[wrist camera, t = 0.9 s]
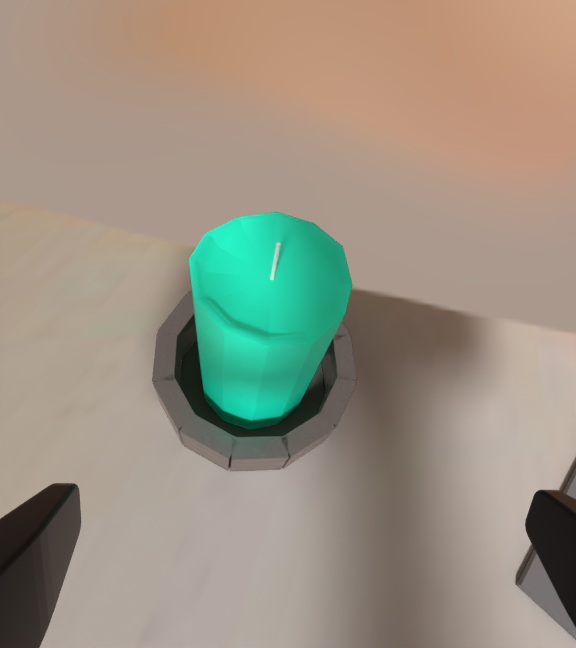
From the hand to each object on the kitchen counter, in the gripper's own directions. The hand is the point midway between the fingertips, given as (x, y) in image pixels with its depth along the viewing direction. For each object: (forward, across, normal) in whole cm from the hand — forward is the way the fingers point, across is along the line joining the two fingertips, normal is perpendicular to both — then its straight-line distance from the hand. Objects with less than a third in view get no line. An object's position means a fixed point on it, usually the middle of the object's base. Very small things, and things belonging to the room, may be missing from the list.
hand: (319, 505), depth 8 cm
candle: (+16, +1, +5) cm, 16 cm away
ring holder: (+16, +1, +5) cm, 16 cm away
